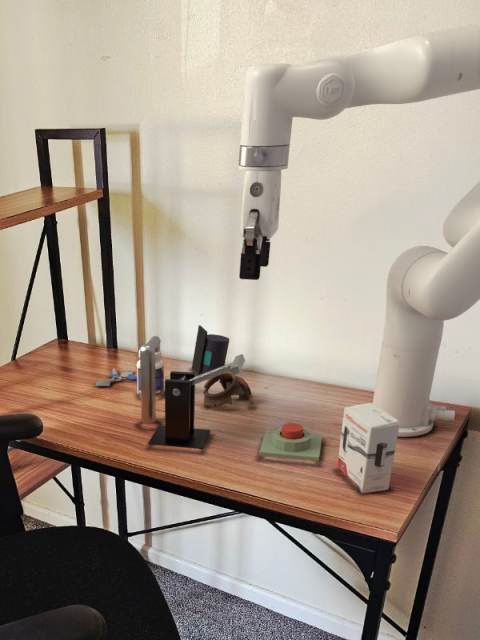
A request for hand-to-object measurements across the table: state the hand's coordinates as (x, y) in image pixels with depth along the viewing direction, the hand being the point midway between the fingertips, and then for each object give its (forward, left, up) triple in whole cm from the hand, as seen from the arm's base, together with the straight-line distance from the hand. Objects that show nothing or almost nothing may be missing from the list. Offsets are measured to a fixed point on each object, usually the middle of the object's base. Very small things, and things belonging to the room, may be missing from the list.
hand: (254, 272), depth 118 cm
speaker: (+12, -31, -30) cm, 44 cm away
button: (-9, +6, -26) cm, 29 cm away
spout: (+19, -2, -29) cm, 35 cm away
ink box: (-21, +14, -30) cm, 39 cm away
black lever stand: (+11, +6, -30) cm, 32 cm away
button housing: (-9, +6, -30) cm, 31 cm away
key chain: (+32, -24, -30) cm, 50 cm away
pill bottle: (+22, -15, -30) cm, 40 cm away
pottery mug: (+5, -13, -30) cm, 33 cm away
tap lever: (+6, +6, -17) cm, 19 cm away
